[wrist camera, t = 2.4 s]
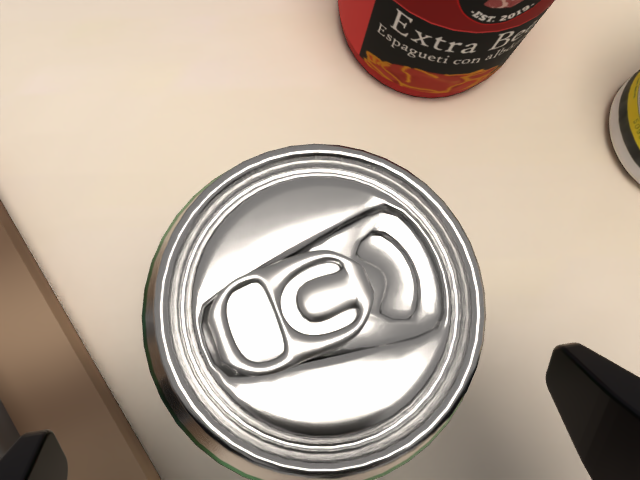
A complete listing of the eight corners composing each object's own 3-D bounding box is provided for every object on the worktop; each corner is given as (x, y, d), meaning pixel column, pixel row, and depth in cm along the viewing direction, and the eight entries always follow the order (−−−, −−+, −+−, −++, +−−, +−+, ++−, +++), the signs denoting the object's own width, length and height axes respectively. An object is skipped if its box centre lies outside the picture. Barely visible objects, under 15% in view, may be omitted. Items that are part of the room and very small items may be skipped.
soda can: (380, 377, 18) (581, 413, 6) (245, 434, 17) (197, 595, 6) (328, 247, 19) (422, 72, 7) (197, 295, 18) (69, 185, 6)
